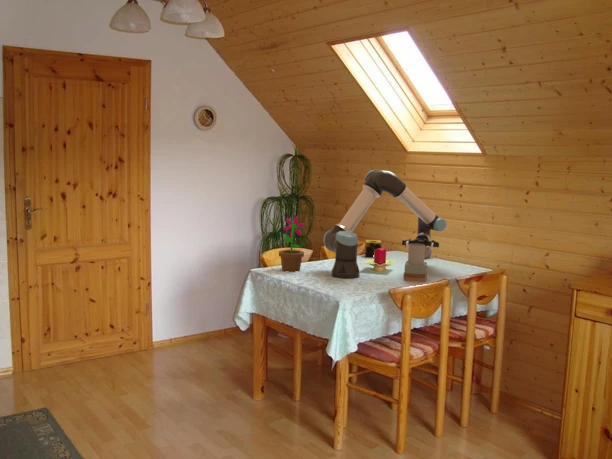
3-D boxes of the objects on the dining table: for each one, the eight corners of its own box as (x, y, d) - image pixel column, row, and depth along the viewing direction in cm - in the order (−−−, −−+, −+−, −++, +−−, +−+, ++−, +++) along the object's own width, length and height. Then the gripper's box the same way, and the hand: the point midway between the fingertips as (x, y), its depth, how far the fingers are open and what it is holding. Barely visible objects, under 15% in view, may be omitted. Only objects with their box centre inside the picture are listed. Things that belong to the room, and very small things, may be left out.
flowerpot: (306, 268, 360) (308, 216, 355) (300, 273, 346) (301, 218, 342) (282, 266, 363) (283, 214, 359) (274, 271, 349) (275, 217, 345)
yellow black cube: (380, 255, 407) (381, 240, 406) (381, 258, 397) (381, 242, 396) (364, 254, 408) (365, 239, 407) (364, 257, 398) (365, 241, 397)
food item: (422, 256, 409) (422, 241, 407) (432, 258, 403) (433, 242, 402) (409, 258, 399) (409, 243, 398) (419, 260, 394) (420, 244, 392)
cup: (412, 265, 333) (413, 246, 332) (405, 262, 341) (406, 243, 339) (426, 264, 336) (427, 245, 334) (419, 261, 343) (420, 243, 342)
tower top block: (425, 274, 332) (426, 265, 331) (404, 272, 335) (404, 264, 334) (426, 270, 343) (427, 262, 342) (406, 268, 345) (406, 260, 345)
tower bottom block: (424, 282, 333) (425, 274, 332) (403, 281, 335) (404, 272, 335) (426, 278, 343) (427, 270, 342) (406, 277, 346) (406, 268, 345)
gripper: (444, 248, 362) (442, 254, 341) (400, 245, 368) (395, 251, 348) (444, 235, 361) (443, 240, 340) (400, 232, 367) (396, 237, 347)
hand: (419, 246), depth 344 cm, fingers open, 13 cm apart
